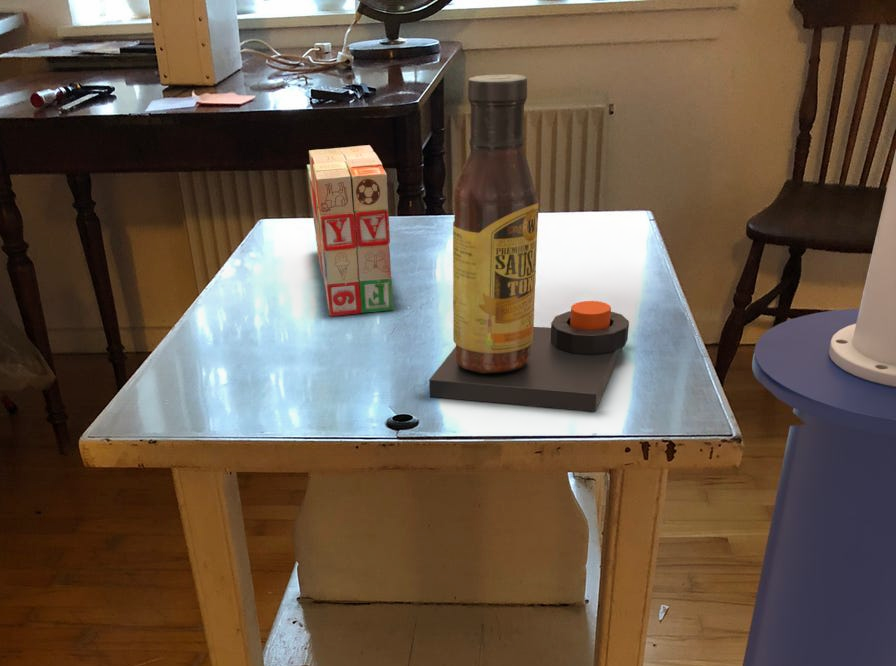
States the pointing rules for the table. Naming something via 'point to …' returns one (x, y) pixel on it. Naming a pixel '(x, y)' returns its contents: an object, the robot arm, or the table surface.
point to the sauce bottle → (495, 232)
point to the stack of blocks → (351, 228)
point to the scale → (544, 369)
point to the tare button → (590, 315)
